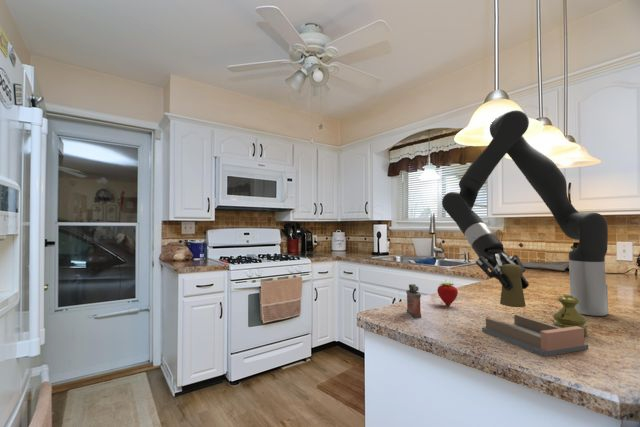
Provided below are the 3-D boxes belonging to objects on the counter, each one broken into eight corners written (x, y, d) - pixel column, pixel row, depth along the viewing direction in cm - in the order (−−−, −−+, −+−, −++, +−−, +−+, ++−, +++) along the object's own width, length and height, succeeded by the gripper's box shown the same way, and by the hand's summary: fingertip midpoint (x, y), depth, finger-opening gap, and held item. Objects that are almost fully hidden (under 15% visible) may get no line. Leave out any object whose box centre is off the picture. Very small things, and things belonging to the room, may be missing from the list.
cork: (529, 307, 84) (528, 265, 84) (504, 306, 85) (503, 265, 85) (520, 302, 90) (519, 263, 90) (496, 301, 91) (495, 262, 91)
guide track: (521, 326, 93) (520, 308, 93) (588, 348, 75) (587, 327, 76) (482, 331, 89) (481, 313, 89) (543, 356, 72) (542, 333, 72)
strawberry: (451, 309, 111) (451, 280, 112) (433, 305, 118) (433, 277, 118) (462, 306, 115) (461, 279, 115) (443, 302, 121) (443, 276, 121)
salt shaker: (582, 329, 89) (580, 293, 89) (591, 338, 82) (590, 299, 83) (550, 326, 92) (549, 291, 92) (557, 334, 85) (555, 297, 86)
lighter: (404, 311, 109) (404, 282, 110) (414, 311, 110) (413, 282, 110) (413, 318, 101) (412, 287, 102) (423, 318, 102) (422, 286, 102)
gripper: (469, 232, 93) (505, 281, 81) (508, 232, 97) (547, 278, 85) (457, 249, 98) (489, 297, 86) (494, 248, 102) (530, 294, 90)
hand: (518, 287), depth 86 cm, fingers closed on cork, 4 cm apart
